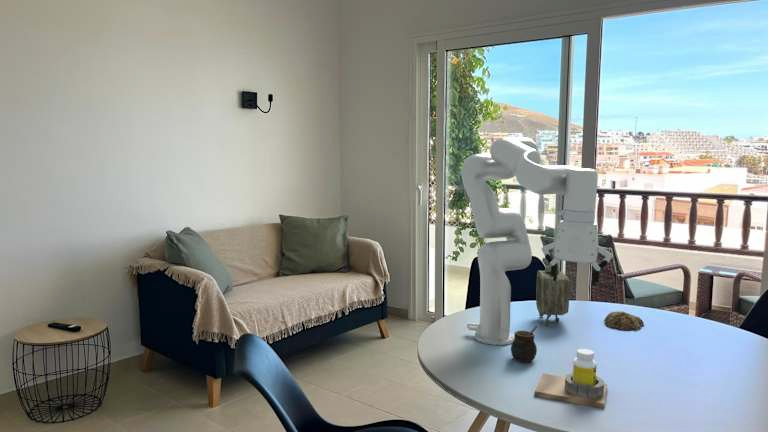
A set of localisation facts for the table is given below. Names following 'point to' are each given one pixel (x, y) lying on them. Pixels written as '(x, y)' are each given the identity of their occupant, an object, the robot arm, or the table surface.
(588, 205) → the robot arm
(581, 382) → the supplement bottle
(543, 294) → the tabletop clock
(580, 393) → the collar board
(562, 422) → the table surface
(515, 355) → the mate gourd
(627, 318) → the bread roll
